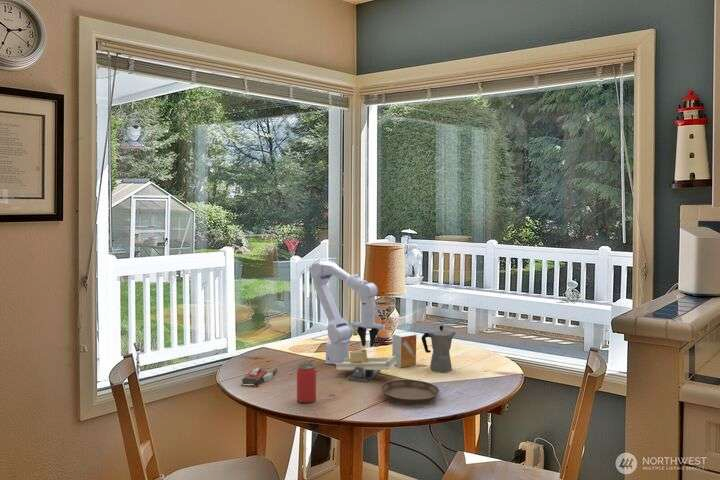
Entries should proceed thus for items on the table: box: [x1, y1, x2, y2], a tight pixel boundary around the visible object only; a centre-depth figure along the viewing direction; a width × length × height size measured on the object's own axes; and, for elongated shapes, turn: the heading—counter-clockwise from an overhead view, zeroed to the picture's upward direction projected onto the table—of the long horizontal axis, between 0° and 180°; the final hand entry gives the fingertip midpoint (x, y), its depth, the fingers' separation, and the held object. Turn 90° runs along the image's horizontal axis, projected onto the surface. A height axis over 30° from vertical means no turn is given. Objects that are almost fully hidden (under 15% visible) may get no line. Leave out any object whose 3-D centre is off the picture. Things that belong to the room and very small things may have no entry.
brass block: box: [349, 349, 368, 363], centre depth 237 cm, size 5×5×5 cm
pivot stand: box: [347, 367, 381, 383], centre depth 236 cm, size 8×15×4 cm, turn 158°
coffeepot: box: [421, 325, 457, 373], centre depth 244 cm, size 15×9×18 cm, turn 110°
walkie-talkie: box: [241, 367, 278, 386], centre depth 232 cm, size 9×4×20 cm
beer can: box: [296, 363, 317, 403], centre depth 207 cm, size 7×7×12 cm
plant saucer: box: [380, 379, 440, 406], centre depth 212 cm, size 21×21×3 cm
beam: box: [335, 355, 397, 371], centre depth 236 cm, size 22×9×3 cm, turn 68°
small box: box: [391, 331, 417, 369], centre depth 251 cm, size 8×6×13 cm
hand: (367, 346), depth 245 cm, fingers open, 3 cm apart
